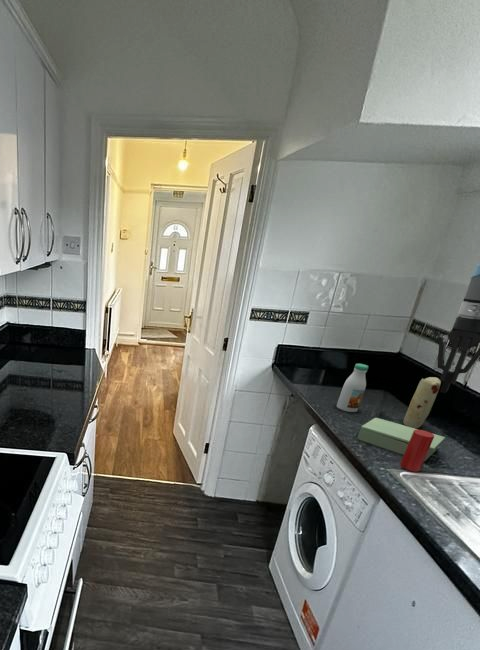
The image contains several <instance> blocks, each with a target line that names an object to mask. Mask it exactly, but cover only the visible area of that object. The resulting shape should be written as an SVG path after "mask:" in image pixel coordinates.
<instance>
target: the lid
mask: <svg viewBox="0 0 480 650" xmlns="http://www.w3.org/2000/svg"><path fill="white" fill-rule="evenodd" d="M361 428H362V429H365V430H368V431H371V432H375V433H378V434H381V435H384V436H388V437H391V438H394V439H398V440H401V441H404V442H407V443H409V441H410V438H411V436H412V433H413V431H414V430H419V428H417V429H415V428H411V427H408V426H406V425H405V424H404V425H403V424H400V423H397V422H394V421H390V420H386V419H383V418H379V417H374V418H372V419H371V420H369V421H367V422H366V423H364V424H363V425H361V426H360V429H361ZM432 434H433V435H434V439H433V441H432V443H431V446H430V448H429V449H430V450H434V449H435V448H436V447H437V448H438V447H439V445H440V444H442V442H444V441H445V439H446V436H443V435H440V434H436V433H432ZM437 448H436V449H437Z"/></svg>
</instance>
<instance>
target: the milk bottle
mask: <svg viewBox="0 0 480 650" xmlns="http://www.w3.org/2000/svg"><path fill="white" fill-rule="evenodd" d="M368 370H369V365H367V364H364V363H355V365H354V368H353V371H352V373H351V374H350V375H349V376H348V377H347V378H346V380H345V382H344V384H343V385H342V389H341V391H340V395H339V397H338V400H337V402H336V408H338V409H339V410H341V411H344V412H349V413H356V412H358V410H359V407H360V405H361V402H362V400H363V398H364V397H363V396H364V394H365V390H366V387H367V379H366V374H367V372H368Z"/></svg>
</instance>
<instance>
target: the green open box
mask: <svg viewBox="0 0 480 650" xmlns="http://www.w3.org/2000/svg"><path fill="white" fill-rule="evenodd" d="M356 440H359V441H361V442H365V443H367V444H370V445H373V446H376V447H379V448H381V449H385V450H387V451H391V452H393V453H397V454H399V455H403V456H404V453H405V451H406V448H407V446H408V443H407V442H404V441H401V440H398V439H394V438H391V437H388V436H384V435H381V434H378V433H375V432H371V431H368V430H365V429H362V428H361V427H360V429H359V433H358V435H357V438H356ZM437 449H438V446H437V447H436V448H435V449H434V450H430V449H429V450H428V453H427V455H426V458H425V460H424V462H426V461H427V460H428V459H429V458H430V457H431V456H432V455H433V454H434V453H435V452H436V450H437ZM424 462H423V463H424Z"/></svg>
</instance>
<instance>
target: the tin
mask: <svg viewBox="0 0 480 650" xmlns="http://www.w3.org/2000/svg"><path fill="white" fill-rule="evenodd" d="M433 434H434V433H432V432H429V431H427V430H423V429H418V430H414V431H413V433H412V436H411V438H410V441H409V443H408V446H407V448H406V451H405V453H404V455H403V456H402V459H401V461H400V463H399V466H400V467H402V469H405V470H406V471H409V472H415V473H416V472H417V473H418V472H420V471H421V470H422V467H423V464H424V460H425V458H426V455H427V453H428V450H429V448H430V446H431V443H432V441H433V439H434V435H433Z"/></svg>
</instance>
